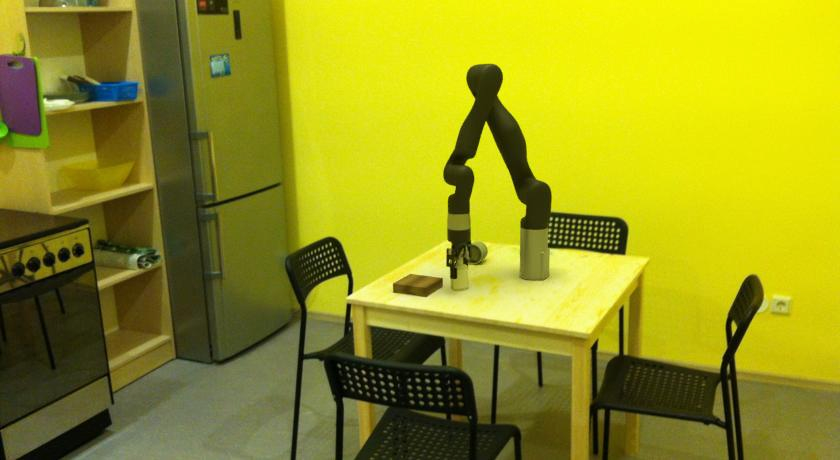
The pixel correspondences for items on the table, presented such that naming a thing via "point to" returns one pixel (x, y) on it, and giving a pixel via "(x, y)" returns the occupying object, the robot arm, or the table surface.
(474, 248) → the ceramic mug
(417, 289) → the walnut plinth
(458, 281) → the squeeze bottle
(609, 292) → the table surface
